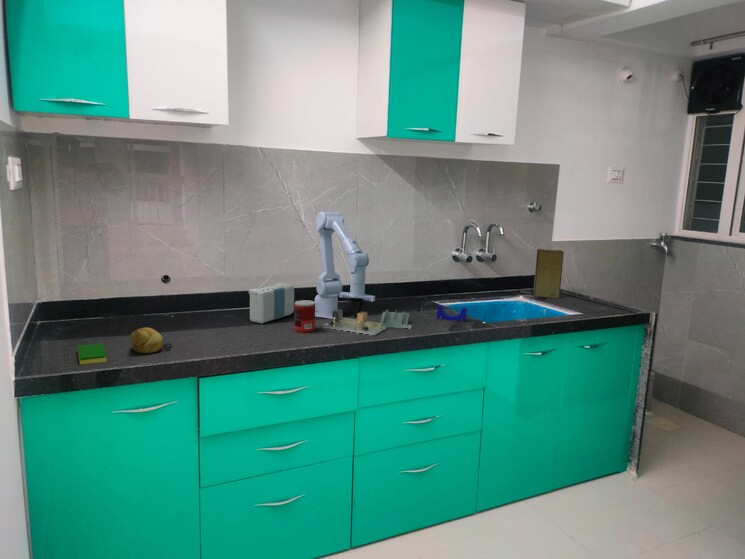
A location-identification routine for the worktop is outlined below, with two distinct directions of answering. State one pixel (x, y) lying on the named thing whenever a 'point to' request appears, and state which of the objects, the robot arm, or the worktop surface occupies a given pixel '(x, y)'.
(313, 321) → the canned food
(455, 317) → the cable clip
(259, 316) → the stereo radio cassette player
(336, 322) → the plate
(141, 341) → the bread roll
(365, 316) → the block
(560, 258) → the food packaging
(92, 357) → the dish sponge
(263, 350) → the worktop surface
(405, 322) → the metal bracket
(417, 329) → the worktop surface
